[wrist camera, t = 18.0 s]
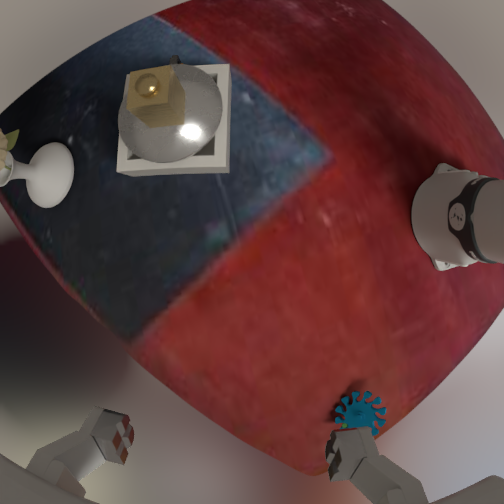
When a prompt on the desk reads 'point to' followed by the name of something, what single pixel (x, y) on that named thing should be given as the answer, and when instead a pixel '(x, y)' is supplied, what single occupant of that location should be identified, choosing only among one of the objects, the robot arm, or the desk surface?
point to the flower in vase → (39, 170)
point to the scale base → (205, 160)
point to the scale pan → (178, 136)
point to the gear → (360, 413)
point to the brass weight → (156, 97)
